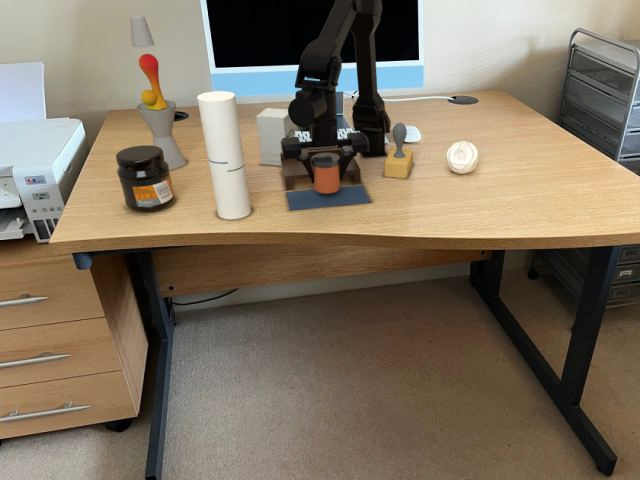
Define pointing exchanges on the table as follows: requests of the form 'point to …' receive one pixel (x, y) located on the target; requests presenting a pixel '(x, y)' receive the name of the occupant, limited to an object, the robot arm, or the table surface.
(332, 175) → the jar
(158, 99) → the lava lamp
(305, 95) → the robot arm
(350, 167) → the shelf
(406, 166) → the rubber stamp
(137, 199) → the supplement container
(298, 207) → the mat
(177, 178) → the table surface
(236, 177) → the cylindrical container
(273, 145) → the white packaging box
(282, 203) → the table surface
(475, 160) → the cream swirled ball
